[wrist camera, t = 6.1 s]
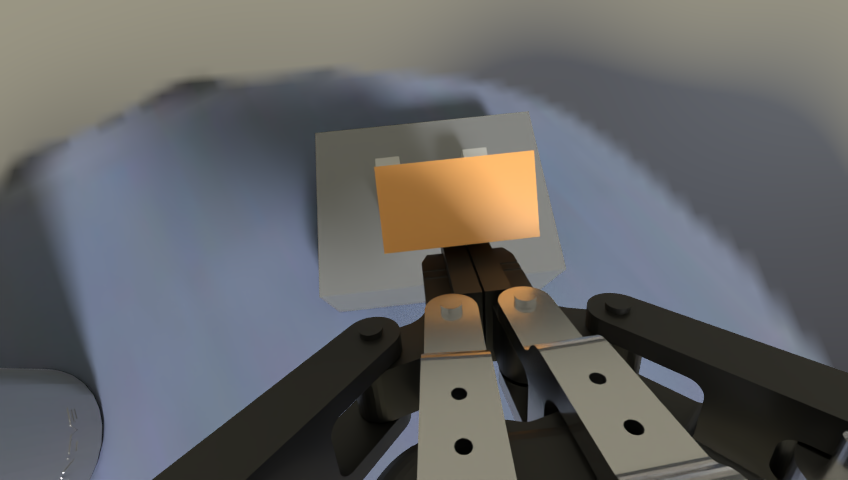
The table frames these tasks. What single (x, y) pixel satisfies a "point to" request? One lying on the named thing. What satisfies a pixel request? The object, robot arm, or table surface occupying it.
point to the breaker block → (360, 219)
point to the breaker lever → (457, 201)
